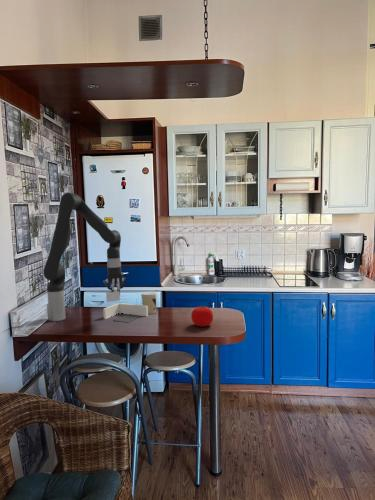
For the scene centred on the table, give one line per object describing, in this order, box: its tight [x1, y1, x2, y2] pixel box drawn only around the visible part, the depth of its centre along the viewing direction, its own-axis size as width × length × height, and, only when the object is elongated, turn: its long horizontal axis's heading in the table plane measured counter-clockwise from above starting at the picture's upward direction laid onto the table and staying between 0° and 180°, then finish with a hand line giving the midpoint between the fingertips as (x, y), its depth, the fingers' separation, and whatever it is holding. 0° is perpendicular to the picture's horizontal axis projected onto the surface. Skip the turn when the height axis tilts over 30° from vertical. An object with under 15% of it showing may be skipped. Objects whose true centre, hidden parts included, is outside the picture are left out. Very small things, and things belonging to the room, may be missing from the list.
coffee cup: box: [140, 291, 157, 315], centre depth 229 cm, size 9×9×12 cm
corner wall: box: [102, 302, 149, 320], centre depth 220 cm, size 21×15×6 cm
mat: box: [113, 314, 140, 324], centre depth 217 cm, size 10×12×1 cm
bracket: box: [105, 288, 121, 303], centre depth 209 cm, size 10×7×5 cm
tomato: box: [190, 305, 214, 328], centre depth 200 cm, size 12×12×10 cm
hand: (116, 296), depth 211 cm, fingers closed on bracket
